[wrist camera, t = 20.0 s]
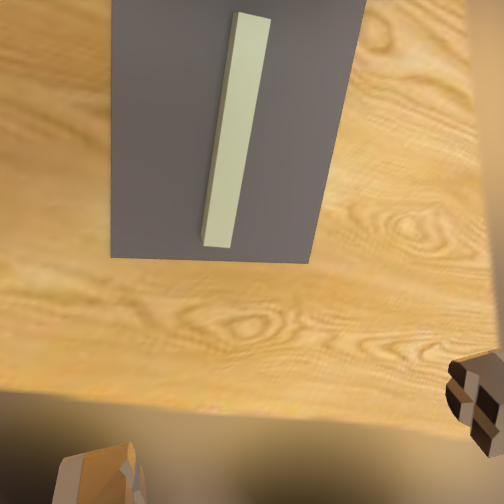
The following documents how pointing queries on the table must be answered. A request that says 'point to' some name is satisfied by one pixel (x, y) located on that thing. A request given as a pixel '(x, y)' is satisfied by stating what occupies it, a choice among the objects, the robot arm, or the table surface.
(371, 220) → the table surface
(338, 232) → the table surface
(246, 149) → the stick
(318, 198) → the mat
